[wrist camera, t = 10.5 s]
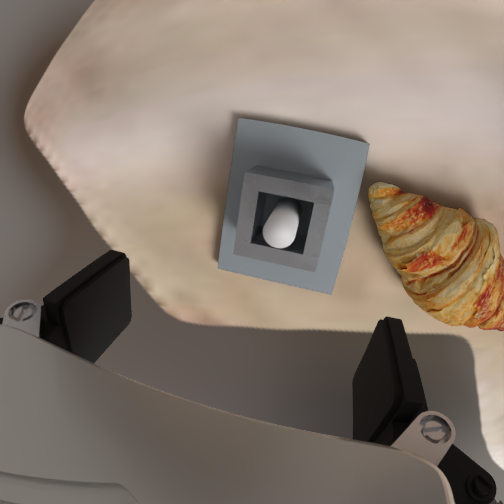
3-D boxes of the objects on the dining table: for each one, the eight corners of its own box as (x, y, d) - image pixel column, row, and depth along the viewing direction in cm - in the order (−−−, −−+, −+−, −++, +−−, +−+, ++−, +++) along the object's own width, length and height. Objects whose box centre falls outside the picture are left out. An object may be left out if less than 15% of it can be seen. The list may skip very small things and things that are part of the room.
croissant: (345, 200, 31) (320, 254, 26) (411, 130, 23) (405, 174, 18) (473, 315, 31) (468, 374, 26) (539, 277, 23) (548, 340, 19)
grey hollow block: (256, 165, 27) (244, 172, 23) (332, 180, 26) (334, 189, 22) (245, 235, 29) (233, 254, 25) (316, 251, 28) (315, 272, 24)
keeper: (241, 118, 27) (213, 114, 20) (368, 143, 25) (384, 147, 18) (220, 264, 32) (193, 301, 25) (331, 289, 31) (331, 335, 24)
